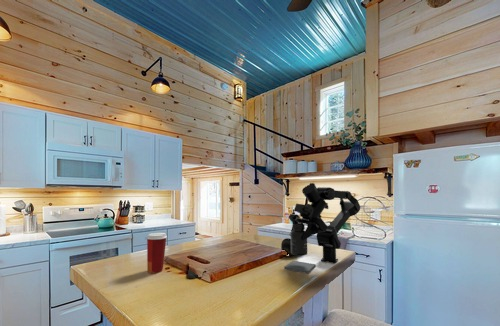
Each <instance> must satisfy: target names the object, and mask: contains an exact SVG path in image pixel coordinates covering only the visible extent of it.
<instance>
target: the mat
mask: <svg viewBox="0 0 500 326" xmlns="http://www.w3.org/2000/svg"><path fill="white" fill-rule="evenodd" d="M316 266H317V265H316V263H311V262H310V263H309V262H304V261H298V260H292V261H290V262H289V263H287V264H286V265H285V266H283V268H284V270H285V271H286V270H288V271H293V272H297V273H298V272H299V273H304V274H308V275H309V274H310V273H311V272H312V271H313V270H314V269H315V268H316Z"/></svg>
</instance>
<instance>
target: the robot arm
mask: <svg viewBox="0 0 500 326" xmlns="http://www.w3.org/2000/svg"><path fill="white" fill-rule="evenodd" d="M301 191H302V194H303V196H304V197H305V199H306V200H307V201H308V202H309V203H305V204H303V203H296V204H295V207H294V209H293V211H294V212H297V213H299V214H296V213H289V214H290V215H289V216H288V219H289V220H290V222H291V223H292V225H291V226H292V227H291V230H290V234H289V236H290V237H291V231H293V224H304V225H307V226H306V229H304V231H305V232H304V234H303V235H302V238H301V239H302V240H305V239H307V240H308V239H309V238H310V237H312V236H314V235H316V242H317V245H318V247H322V258H321V259H320V261H321V262H324V263H331V264H336V263H337V262H338V261H339V258H337V250H339V249H340V248H341V244H342V243H341V241H340V239H339V236H338V235H339V234H338V233H339V232H340V230H341V229H342V228H343V226H344V225H345V224H346V223H347V221H348V220H349V219H350V218H351V217H353V216H357V214H358V213H359V212H360V211H361V205H360V203H359V201H358V199H357V198H356V197H354V195H352V193H351V191H348V190H335V188H332V187H327V186H326V187H325V186H323V187H320V186H319V187H317V186H316V183H314V182H310V183H309V184H308V185H305V186H304V187H303V188H302V190H301ZM335 199H339V200H340V201H339V206H340V212H339V213H338V214H337V215H336V216H335V218H333V220H332V221H331V222H330V224H328V225H327V224H326V222H325V221H324V220H323V218H322V213H323V211H324V209H325V210H328V209H329V203H328V202H326V201H332V200H335ZM345 200H347V201H345Z"/></svg>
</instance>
